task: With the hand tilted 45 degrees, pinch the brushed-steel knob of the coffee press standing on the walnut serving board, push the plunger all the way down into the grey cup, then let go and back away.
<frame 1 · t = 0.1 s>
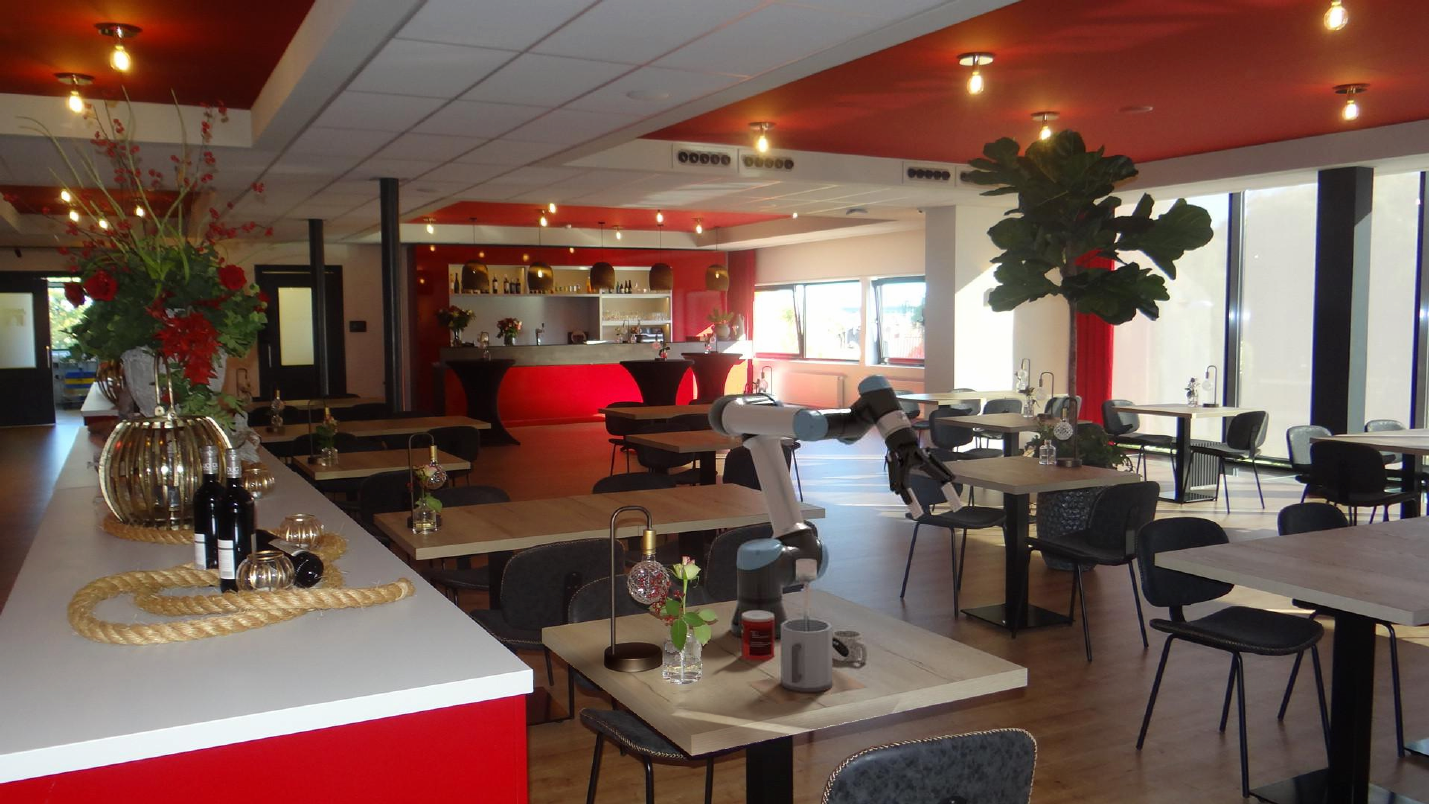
hand: (939, 512, 228), 36 cm above the table, tool tilted 35°, fingers open, 13 cm apart
canned food: (758, 661, 236), on the table
grey cup: (806, 684, 215), resting on serving board
plunger: (806, 603, 214), point 19 cm above the table, slide at 0.0 cm
mug: (851, 664, 233), on the table
serving board: (806, 690, 215), on the table
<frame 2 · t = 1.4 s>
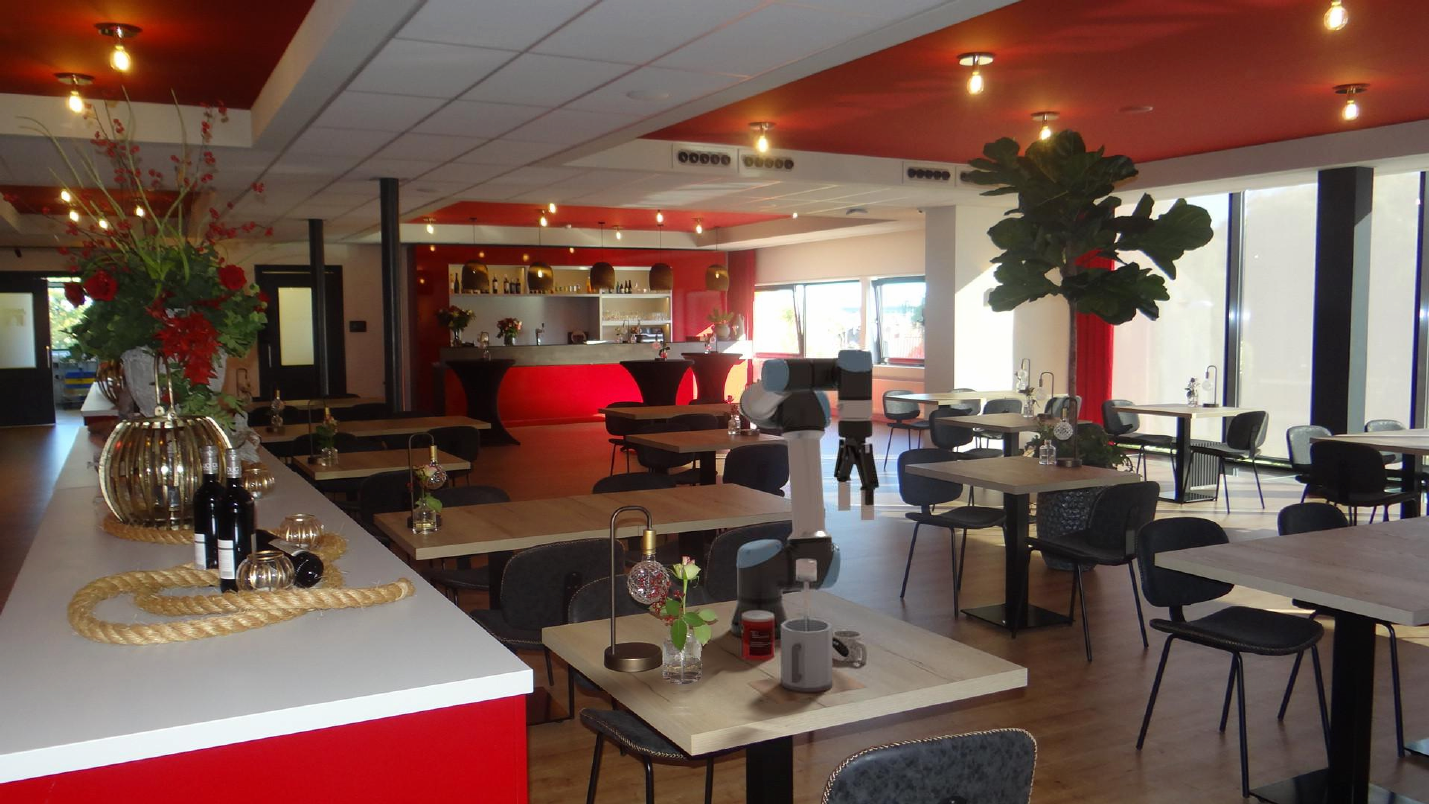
hand: (855, 515, 221), 37 cm above the table, tool pointing down, fingers open, 13 cm apart
nothing on the table moved.
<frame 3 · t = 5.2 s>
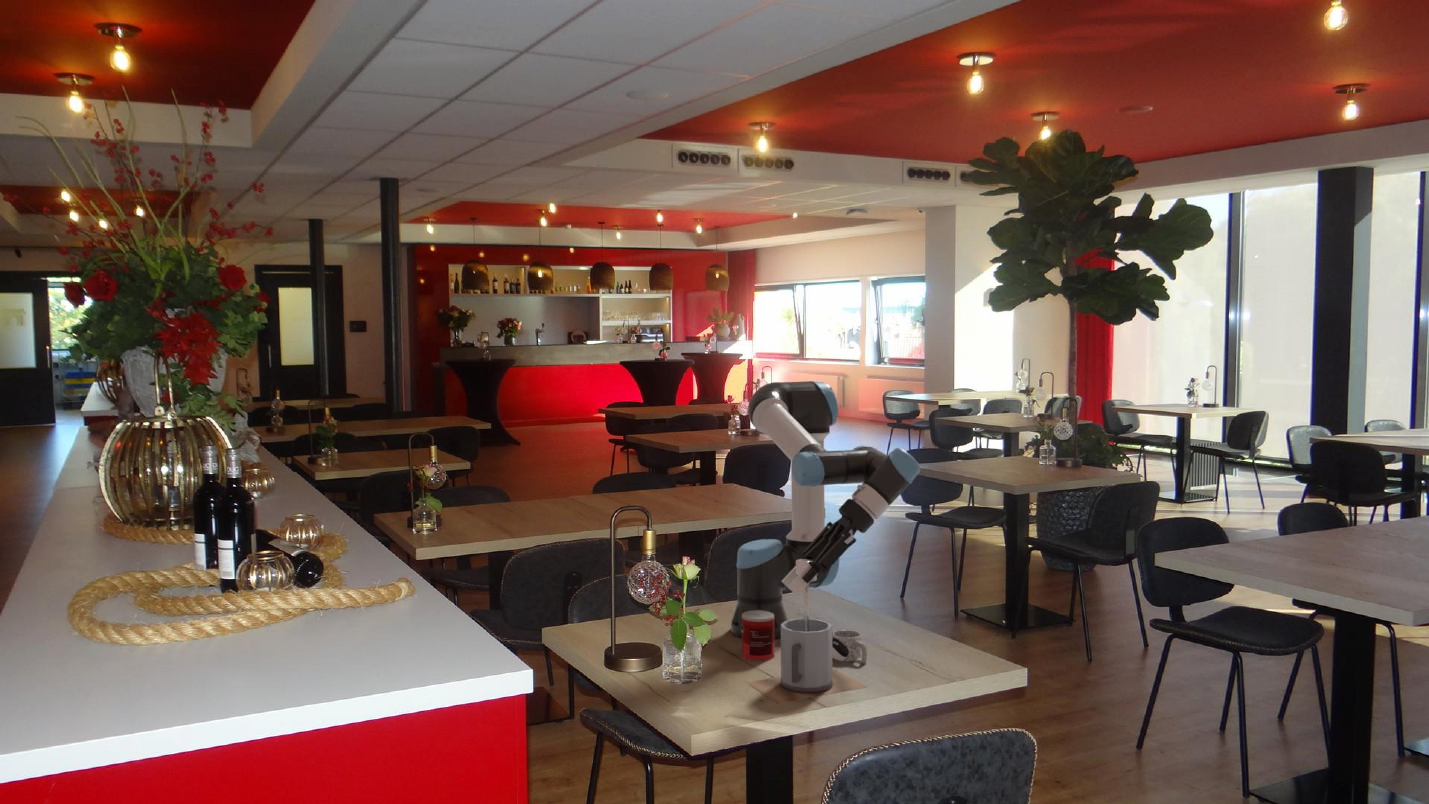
hand: (789, 588, 213), 22 cm above the table, tool tilted 45°, fingers closed on plunger, 4 cm apart
plunger: (806, 603, 214), point 19 cm above the table, slide at 0.0 cm, touching gripper
everything else where it was.
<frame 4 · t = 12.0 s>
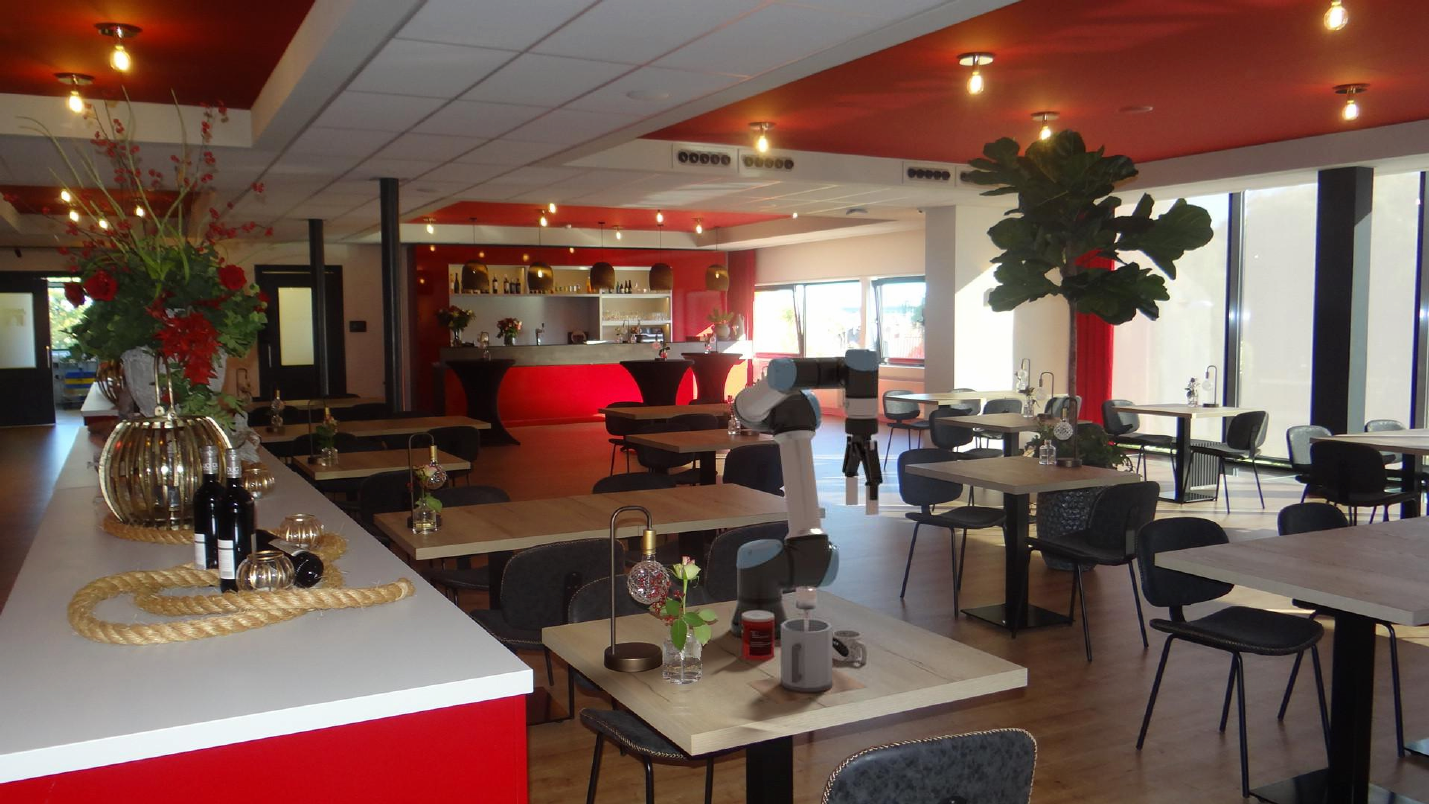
hand: (861, 509, 228), 37 cm above the table, tool pointing down, fingers open, 13 cm apart
plunger: (806, 630, 215), point 13 cm above the table, slide at 6.0 cm
everything else where it was.
at the end: plunger slide at 6.0 cm; the gripper is holding nothing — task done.
